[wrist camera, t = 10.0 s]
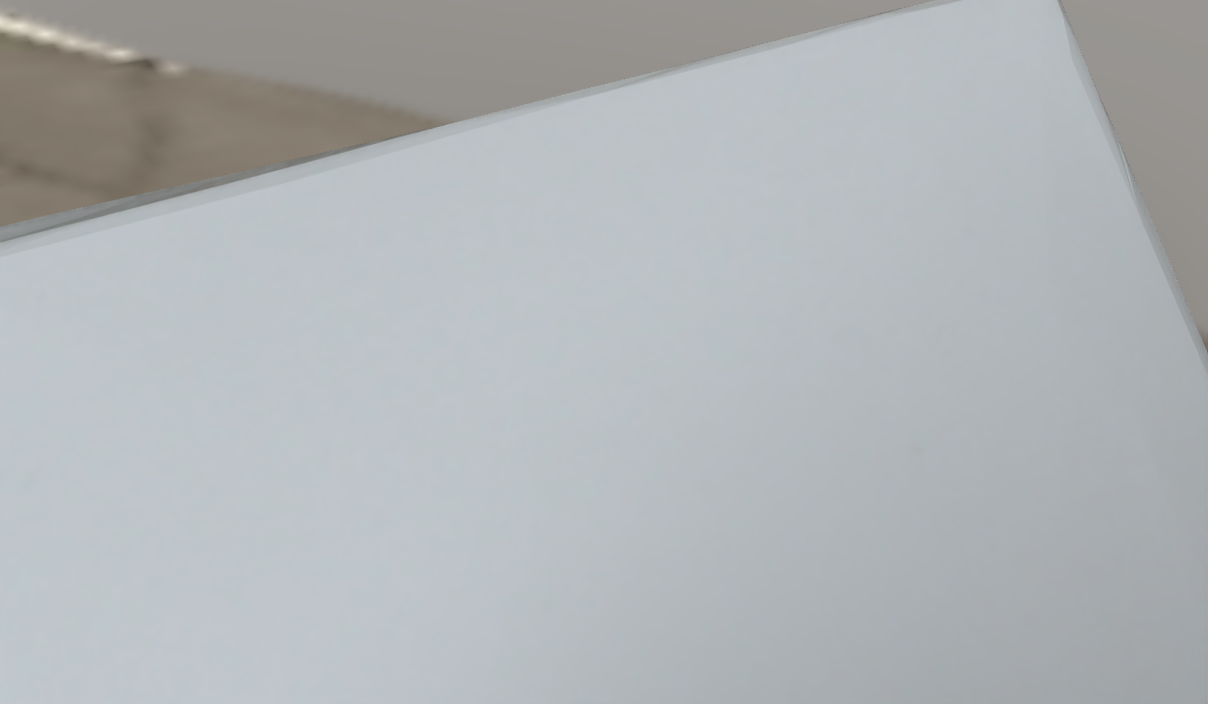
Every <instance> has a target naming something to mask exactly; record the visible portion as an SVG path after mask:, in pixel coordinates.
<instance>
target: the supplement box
mask: <svg viewBox="0 0 1208 704" xmlns="http://www.w3.org/2000/svg"><path fill="white" fill-rule="evenodd" d="M0 704H1208V353H1207V351H1206V348H1205V346H1204V343H1203V341H1202V339H1201V336H1200V334H1199V332H1198V329H1197V327H1196V325H1195V322H1194V320H1193V318H1192V315H1191V313H1190V311H1189V308H1188V306H1187V303H1186V301H1185V299H1184V296H1183V294H1182V291H1181V289H1180V286H1179V284H1178V281H1177V279H1176V277H1175V274H1174V272H1173V269H1172V267H1171V264H1170V262H1169V260H1168V257H1167V255H1166V252H1165V250H1164V248H1163V245H1162V243H1161V240H1160V238H1159V235H1158V233H1157V231H1156V228H1155V226H1154V223H1153V221H1152V219H1151V216H1150V214H1149V211H1148V209H1147V206H1146V204H1145V201H1144V199H1143V197H1142V194H1141V192H1140V190H1139V187H1138V185H1137V183H1136V180H1135V177H1134V175H1133V173H1132V170H1131V168H1130V165H1129V163H1128V161H1127V158H1126V156H1125V153H1124V151H1123V149H1122V146H1121V144H1120V141H1119V139H1118V137H1117V134H1116V132H1115V130H1114V127H1113V125H1112V123H1111V121H1110V118H1109V116H1108V114H1107V112H1106V110H1105V107H1104V105H1103V103H1102V101H1101V99H1100V96H1099V94H1098V92H1097V89H1096V87H1095V84H1094V82H1093V79H1092V77H1091V74H1090V72H1089V69H1088V67H1087V64H1086V62H1085V60H1084V57H1083V55H1082V52H1081V50H1080V47H1079V45H1078V42H1077V40H1076V37H1075V35H1074V32H1073V30H1072V27H1071V25H1070V22H1069V20H1068V17H1067V15H1066V12H1065V10H1064V7H1063V4H1062V2H1061V0H932V1H928V2H925V3H921V4H916V5H912V6H908V7H904V8H900V9H896V10H893V11H889V12H885V13H881V14H877V15H873V16H869V17H865V18H862V19H857V20H854V21H850V22H846V23H842V24H838V25H834V26H830V27H826V28H822V29H818V30H815V31H810V32H806V33H803V34H799V35H795V36H791V37H787V38H783V39H780V40H775V41H771V42H767V43H763V44H760V45H756V46H752V47H748V48H744V49H741V50H737V51H733V52H729V53H725V54H721V55H717V56H714V57H710V58H706V59H702V60H699V61H694V62H691V63H687V64H683V65H680V66H675V67H671V68H667V69H663V70H659V71H656V72H651V73H648V74H643V75H640V76H635V77H632V78H628V79H624V80H619V81H615V82H612V83H607V84H603V85H600V86H596V87H592V88H588V89H584V90H580V91H576V92H572V93H568V94H564V95H560V96H557V97H553V98H549V99H545V100H541V101H537V102H534V103H530V104H526V105H522V106H518V107H514V108H510V109H507V110H502V111H499V112H495V113H491V114H487V115H484V116H479V117H475V118H472V119H468V120H464V121H460V122H456V123H452V124H448V125H444V126H439V127H435V128H430V129H426V130H421V131H416V132H412V133H408V134H403V135H399V136H395V137H390V138H386V139H381V140H377V141H373V142H368V143H364V144H359V145H355V146H351V147H346V148H342V149H338V150H333V151H329V152H324V153H320V154H316V155H311V156H307V157H303V158H298V159H294V160H290V161H285V162H281V163H277V164H272V165H268V166H264V167H259V168H255V169H250V170H246V171H242V172H237V173H233V174H228V175H224V176H220V177H215V178H211V179H206V180H202V181H197V182H193V183H189V184H184V185H180V186H175V187H171V188H167V189H162V190H158V191H153V192H149V193H144V194H140V195H135V196H131V197H126V198H122V199H118V200H113V201H109V202H104V203H100V204H95V205H91V206H86V207H82V208H77V209H73V210H68V211H64V212H60V213H56V214H51V215H47V216H43V217H39V218H35V219H31V220H27V221H22V222H18V223H14V224H10V225H6V226H2V227H0Z"/></svg>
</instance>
